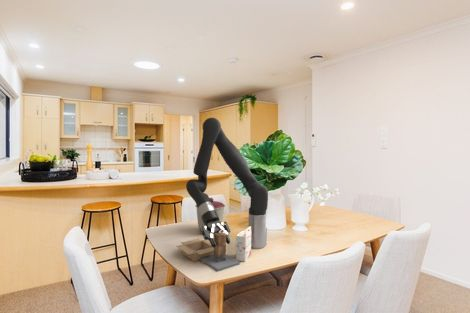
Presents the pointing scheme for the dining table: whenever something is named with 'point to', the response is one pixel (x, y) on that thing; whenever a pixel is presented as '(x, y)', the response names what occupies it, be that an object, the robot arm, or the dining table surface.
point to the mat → (219, 265)
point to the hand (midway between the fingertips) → (222, 244)
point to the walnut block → (220, 247)
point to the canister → (219, 209)
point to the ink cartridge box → (243, 245)
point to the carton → (192, 245)
